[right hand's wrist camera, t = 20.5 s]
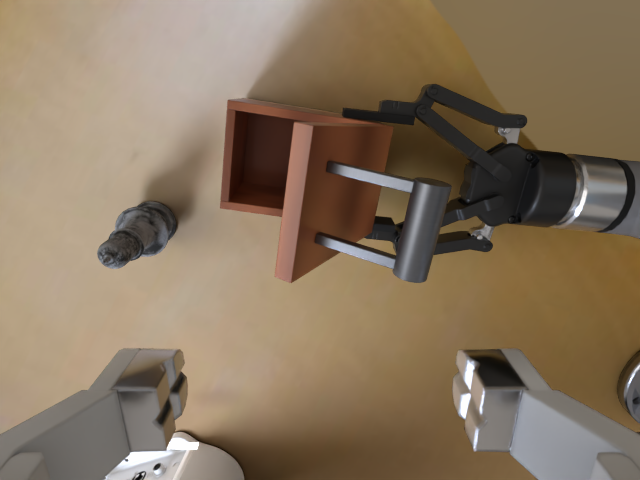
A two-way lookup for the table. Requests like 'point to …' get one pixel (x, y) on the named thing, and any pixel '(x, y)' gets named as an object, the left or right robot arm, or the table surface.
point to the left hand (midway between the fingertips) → (336, 168)
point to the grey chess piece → (138, 234)
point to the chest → (263, 152)
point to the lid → (352, 202)
